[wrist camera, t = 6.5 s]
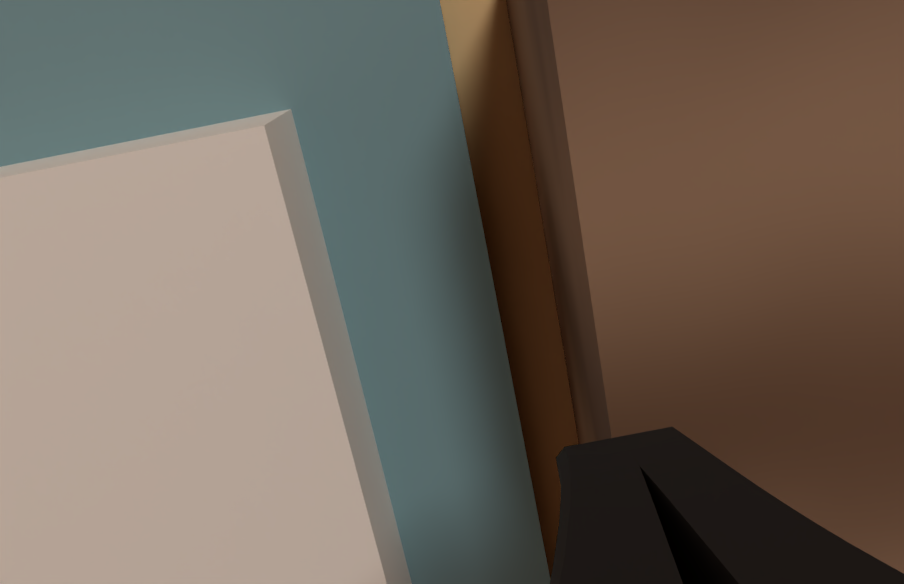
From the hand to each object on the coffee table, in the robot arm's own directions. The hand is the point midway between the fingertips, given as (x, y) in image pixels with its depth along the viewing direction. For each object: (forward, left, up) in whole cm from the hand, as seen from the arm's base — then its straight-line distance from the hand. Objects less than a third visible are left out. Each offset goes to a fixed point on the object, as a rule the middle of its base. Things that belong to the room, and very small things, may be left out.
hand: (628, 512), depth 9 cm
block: (0, +6, -2) cm, 7 cm away
